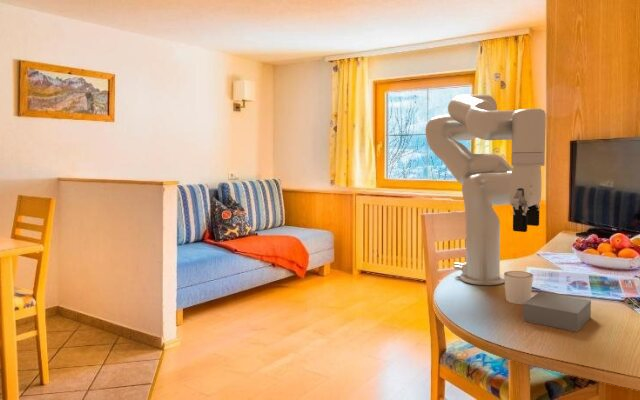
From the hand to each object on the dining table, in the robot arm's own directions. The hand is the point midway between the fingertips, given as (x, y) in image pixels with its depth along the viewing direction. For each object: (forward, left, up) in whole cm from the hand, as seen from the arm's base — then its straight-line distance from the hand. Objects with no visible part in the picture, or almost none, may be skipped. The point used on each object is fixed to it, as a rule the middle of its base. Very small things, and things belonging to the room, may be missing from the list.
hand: (526, 228), depth 118 cm
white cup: (-1, -1, -19) cm, 19 cm away
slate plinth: (+10, -9, -19) cm, 23 cm away
